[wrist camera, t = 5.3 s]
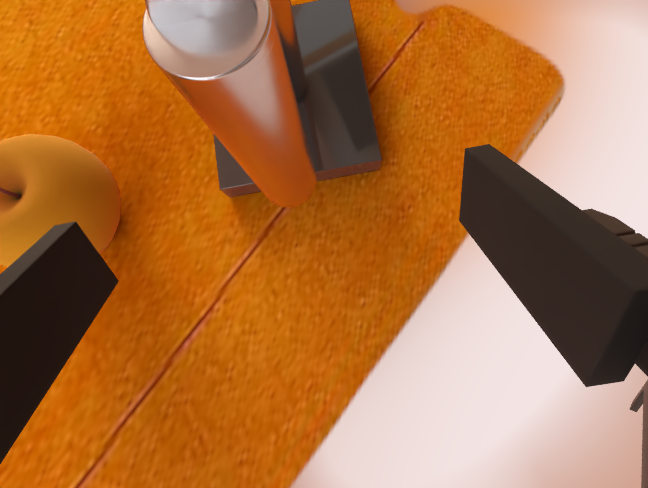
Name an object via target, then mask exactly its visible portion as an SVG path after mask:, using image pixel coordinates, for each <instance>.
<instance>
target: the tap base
mask: <svg viewBox="0 0 648 488" xmlns="http://www.w3.org/2000/svg"><path fill="white" fill-rule="evenodd" d="M292 11H293V16H294V21H295V26H296V31H297V36H298V41H299V46H300V52H301V57H302V62H303V67H304V72H305V77H306V90H305V92H304V94H303V96H302V97H301V98H300V99H299V100H297V104H298V108H299V112H300V116H301V119H302V123H303V127H304V131H305V134H306V138H307V142H308V146H309V149H310V153H311V157H312V161H313V165H314V168H315V172H316V178H317V181H321V180H326V179H332V178H337V177H343V176H348V175H354V174H359V173H365V172H370V171H376V170H379V169H380V165H381V161H382V157H381V152H380V147H379V142H378V137H377V133H376V128H375V123H374V118H373V113H372V108H371V103H370V98H369V93H368V89H367V84H366V79H365V74H364V69H363V64H362V59H361V54H360V49H359V45H358V40H357V35H356V30H355V25H354V20H353V15H352V10H351V5H350V1H349V0H317V1H313V2H308V3H303V4H298V5H293V6H292ZM213 134H214V133H213ZM214 143H215V151H216V160H217V169H218V177H219V186H220V190H221V191H222V192H224V193H225V194H226V195H227V196H228V197H234V196H239V195H244V194H250V193H255V192H261V190H260V189H259V188H258V186H257V185H256V184H255V183H254V182H253V180H252V179H251V178H250V177H249V176H248V174H247V173H246V172H245V171H244V170H243V168H242V167H241V166H240V165H239V163H238V162H237V161H236V160H235V159H234V157H233V156H232V155H231V154H230V153H229V151H228V150H227V149H226V148H225V147H224V145H223V144H222V143H221V142H220V140H219V139H218V138H217V137H216V136H215V134H214Z"/></svg>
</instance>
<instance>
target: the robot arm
mask: <svg viewBox="0 0 648 488" xmlns="http://www.w3.org/2000/svg"><path fill="white" fill-rule="evenodd" d="M459 221H460V222H461V223H462V225H463V226H464V227H465V229H466V230H467V231H468V233H469V234H470V235H471V237H472V238H473V239H474V240H475V242H476V243H477V244H478V246H479V247H480V248H481V250H482V251H483V252H484V254H485V255H486V256H487V258H488V259H489V260H490V262H491V263H492V264H493V265H494V267H495V268H496V269H497V271H498V272H499V273H500V275H501V276H502V277H503V279H504V280H505V281H506V282H507V284H508V285H509V286H510V288H511V289H512V290H513V292H514V293H515V294H516V296H517V297H518V298H519V300H520V301H521V302H522V304H523V305H524V306H525V307H526V309H527V310H528V311H529V313H530V314H531V315H532V317H533V318H534V319H535V321H536V322H537V323H538V325H539V326H540V327H541V328H542V330H543V331H544V332H545V334H546V335H547V336H548V338H549V339H550V340H551V342H552V343H553V344H554V346H555V347H556V348H557V350H558V351H559V352H560V353H561V355H562V356H563V357H564V359H565V360H566V361H567V363H568V364H569V365H570V366H571V368H572V369H573V371H574V372H575V373H576V374H577V376H578V377H579V378H580V380H581V381H582V382H583V384H584V385H585V386H586V387H589V386H595V385H602V384H608V383H614V382H621V381H624V380H625V378H626V377H627V375H628V373H629V372H630V370H631V369H632V367H633V365H634V364H636V365H637V366H638V367H639V368H640V369H641V370H642V371H643V372H644V373H645V374H646V375H647V376H648V239H647V238H645V237H644V236H642V235H641V234H639V233H637V234H636V233H635V230H633V229H632V228H630V227H629V226H627V225H626V224H624V223H623V222H621V221H620V220H618V219H617V218H615V217H612V216H609V215H606V214H604V213H601V212H599V211H596V210H593V209H588V210H581V209H579V208H578V207H576V206H575V205H573V204H572V203H571V202H569V201H568V200H567V199H565V198H564V197H562V196H561V195H560V194H558V193H557V192H555V191H554V190H553V189H551V188H550V187H548V186H547V185H545V184H544V183H543V182H541V181H540V180H539V179H537V178H536V177H534V176H533V175H532V174H530V173H529V172H527V171H526V170H525V169H523V168H522V167H520V166H519V165H518V164H516V163H515V162H513V161H512V160H511V159H509V158H508V157H506V156H505V155H504V154H502V153H501V152H499V151H498V150H497V149H495V148H494V147H492V146H491V145H490V144H487V145H482V146H476V147H471V148H466V149H465V156H464V168H463V181H462V193H461V206H460V218H459ZM117 283H118V279H117V278H116V277H115V275H114V274H113V272H112V271H111V270H110V268H109V267H108V265H107V264H106V263H105V261H104V260H103V258H102V257H101V256H100V254H99V253H98V251H97V250H96V249H95V247H94V246H93V244H92V243H91V242H90V240H89V239H88V237H87V236H86V235H85V233H84V232H83V230H82V229H81V228H80V226H79V225H78V223H77V222H76V221H75V222H70V223H65V224H59V225H54V226H53V227H52V228H51V229H50V230H49V231H48V232H47V233H46V234H44V235H43V236H42V237H41V238H40V239H39V240H38V241H37V242H36V243H35V244H33V245H32V246H31V247H30V248H29V249H28V250H27V251H26V252H25V253H23V254H22V255H21V256H20V257H19V258H18V259H17V260H16V261H15V262H14V263H12V264H11V265H10V266H9V267H8V268H7V269H6V270H5V271H4V272H2V273H1V274H0V464H1V462H2V461H3V459H4V458H5V456H6V454H7V453H8V451H9V450H10V448H11V447H12V445H13V444H14V442H15V441H16V439H17V438H18V436H19V434H20V433H21V431H22V430H23V428H24V427H25V425H26V424H27V422H28V421H29V419H30V417H31V416H32V414H33V413H34V411H35V410H36V408H37V407H38V405H39V404H40V402H41V400H42V399H43V397H44V396H45V394H46V393H47V391H48V390H49V388H50V387H51V385H52V383H53V382H54V380H55V379H56V377H57V376H58V374H59V373H60V371H61V370H62V368H63V366H64V365H65V363H66V362H67V360H68V359H69V357H70V356H71V354H72V353H73V351H74V349H75V348H76V346H77V345H78V343H79V342H80V340H81V339H82V337H83V336H84V334H85V332H86V331H87V329H88V328H89V326H90V325H91V323H92V322H93V320H94V319H95V317H96V315H97V314H98V312H99V311H100V309H101V308H102V306H103V305H104V303H105V302H106V300H107V298H108V297H109V295H110V294H111V292H112V291H113V289H114V288H115V286H116V285H117ZM642 404H643V441H642V442H643V443H642V487H641V488H648V380H647V382H646V383H645V384H644V386H643V387H642V389H641V390H640V392H639V393H638V394H637V396H636V397H635V399H634V400H633V402H632V404H631V407H630V410H633V411H635V412H637V411H638V409H639V408H640V407H641V405H642Z"/></svg>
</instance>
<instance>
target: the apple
mask: <svg viewBox="0 0 648 488" xmlns="http://www.w3.org/2000/svg"><path fill="white" fill-rule="evenodd" d="M120 209H121V198H120V191H119V188H118V186H117V183H116V181H115V179H114V177H113V175H112V173H111V171H110V169H109V168H108V167H107V166H106V165H105V164H104V163H103V162H102V161H101V160H100V159H99V158H98V157H97V156H96V155H95V154H93V153H92V152H90V151H88V150H87V149H85V148H83V147H81V146H80V145H78V144H76V143H75V142H73V141H70V140H66V139H63V138H60V137H57V136H50V135H37V134H26V135H21V136H17V137H12V138H7V139H3V140H0V265H3V266H6V267H9V266H10V265H11V264H12V263H14V262H15V261H16V260H17V259H18V258H19V257H20V256H21V255H22V254H23V253H25V252H26V251H27V250H28V249H29V248H30V247H31V246H32V245H33V244H35V243H36V242H37V241H38V240H39V239H40V238H41V237H42V236H43V235H44V234H46V233H47V232H48V231H49V230H50V229H51V228H52V227H53V226H54V225H59V224H65V223H70V222H75V221H76V222H77V223H78V225H79V226H80V228H81V229H82V230H83V232H84V233H85V235H86V236H87V237H88V239H89V240H90V242H91V243H92V244H93V246H94V247H95V249H96V250H97V251H98V253H99V254H100V253H101V252H103V251H104V250H105V249H106V247H107V246H108V245H109V243H110V242H111V241H112V239H113V237H114V235H115V232H116V230H117V227H118V224H119V221H120Z"/></svg>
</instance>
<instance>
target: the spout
mask: <svg viewBox="0 0 648 488" xmlns="http://www.w3.org/2000/svg"><path fill="white" fill-rule="evenodd" d="M145 3H146V10H145V13H144V17H143V37H144V42H145V45H146V48H147V50H148V52H149V54H150V56H151V58H152V59H153V60H154V62H155V63H156V64H157V65H158V67H159V68H160V69H161V70H162V71H163V73H164V74H165V75H166V76H167V78H168V79H169V80H170V81H171V82H172V84H173V85H174V86H175V87H176V88H177V90H178V91H179V92H180V93H181V94H182V96H183V97H184V98H185V99H186V101H187V102H188V103H189V104H190V105H191V107H192V108H193V109H194V110H195V111H196V113H197V114H198V115H199V116H200V117H201V119H202V120H203V121H204V122H205V124H206V125H207V126H208V127H209V128H210V130H211V131H212V132H213V133H214V134H215V136H216V137H217V138H218V139H219V140H220V142H221V143H222V144H223V145H224V147H225V148H226V149H227V150H228V151H229V153H230V154H231V155H232V156H233V157H234V159H235V160H236V161H237V162H238V163H239V165H240V166H241V167H242V168H243V170H244V171H245V172H246V173H247V174H248V176H249V177H250V178H251V179H252V180H253V182H254V183H255V184H256V185H257V186H258V188H259V189H260V190H261V191H262V193H263V194H264V195H265V196H266V197H267V199H268V200H269V201H271V202H272V203H273V204H275V205H277V206H280V207H295V206H298V205H301V204H302V203H304V202H305V201H307V200H308V199H309V198H310V197H311V195H312V194H313V192H314V190H315V187H316V182H317V178H316V172H315V168H314V165H313V161H312V157H311V153H310V149H309V146H308V142H307V138H306V134H305V131H304V127H303V123H302V119H301V116H300V112H299V108H298V104H297V100H299V99H300V98H301V97H302V96H303V94H304V92H305V90H306V77H305V72H304V67H303V62H302V57H301V52H300V46H299V41H298V36H297V31H296V26H295V21H294V16H293V11H292V6H291V1H290V0H145Z"/></svg>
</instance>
